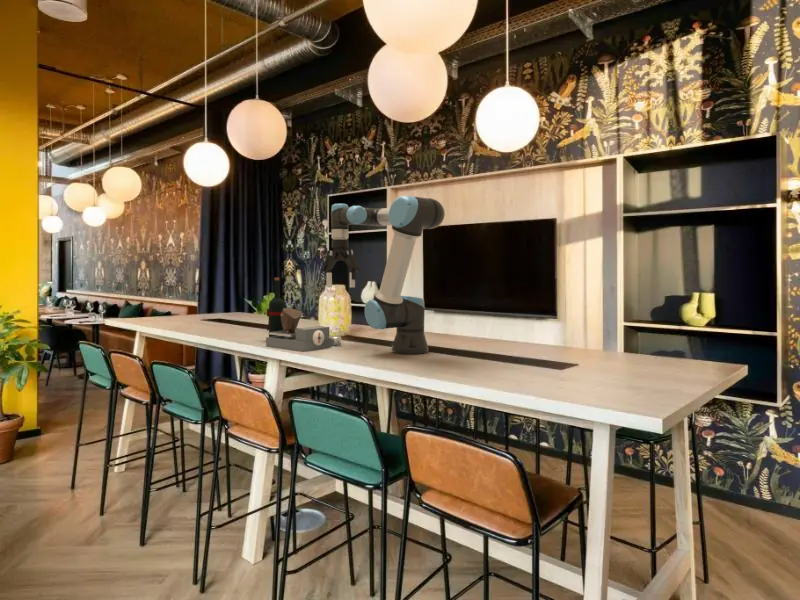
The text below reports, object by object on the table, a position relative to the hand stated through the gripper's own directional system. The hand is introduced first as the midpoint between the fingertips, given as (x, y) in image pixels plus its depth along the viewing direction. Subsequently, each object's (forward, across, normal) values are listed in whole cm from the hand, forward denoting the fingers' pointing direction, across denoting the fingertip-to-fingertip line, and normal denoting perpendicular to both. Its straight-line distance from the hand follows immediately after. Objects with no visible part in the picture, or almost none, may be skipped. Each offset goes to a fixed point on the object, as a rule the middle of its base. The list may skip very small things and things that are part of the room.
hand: (340, 287), depth 241 cm
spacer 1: (+26, +8, +1) cm, 27 cm away
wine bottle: (+26, +33, +9) cm, 43 cm away
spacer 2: (+26, +2, +2) cm, 26 cm away
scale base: (+26, +12, +14) cm, 32 cm away
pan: (+22, +16, +14) cm, 31 cm away
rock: (+20, +17, +14) cm, 30 cm away
